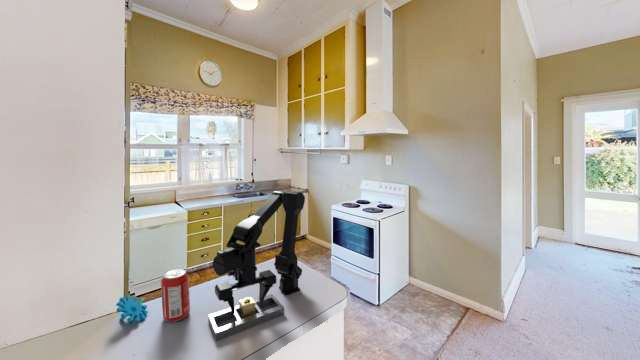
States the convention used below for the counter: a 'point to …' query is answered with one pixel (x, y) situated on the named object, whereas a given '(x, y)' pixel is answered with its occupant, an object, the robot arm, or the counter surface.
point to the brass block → (246, 307)
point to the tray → (246, 322)
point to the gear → (131, 308)
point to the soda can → (175, 295)
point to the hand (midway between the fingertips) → (247, 308)
